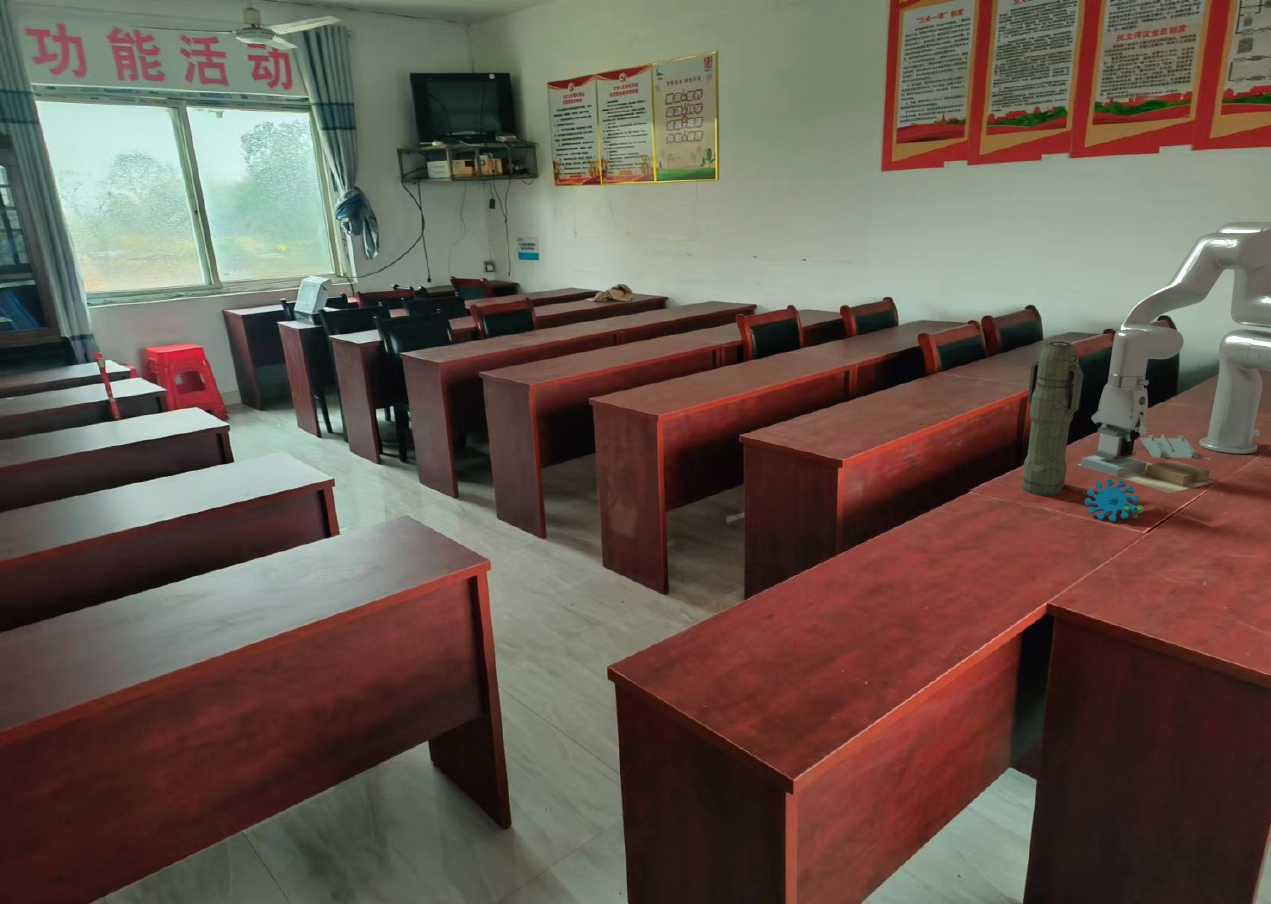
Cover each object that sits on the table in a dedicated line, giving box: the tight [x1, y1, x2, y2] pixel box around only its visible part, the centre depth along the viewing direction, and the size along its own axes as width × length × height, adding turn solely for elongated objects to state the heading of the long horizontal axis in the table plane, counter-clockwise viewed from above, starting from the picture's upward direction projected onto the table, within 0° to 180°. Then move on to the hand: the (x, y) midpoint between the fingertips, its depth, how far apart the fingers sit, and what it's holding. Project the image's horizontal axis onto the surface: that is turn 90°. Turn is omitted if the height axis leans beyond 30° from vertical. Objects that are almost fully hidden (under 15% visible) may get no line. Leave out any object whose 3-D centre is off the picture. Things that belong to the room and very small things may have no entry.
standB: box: [1080, 454, 1147, 478], centre depth 198 cm, size 10×10×2 cm
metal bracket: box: [1139, 433, 1212, 461], centre depth 208 cm, size 14×6×15 cm
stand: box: [1145, 459, 1211, 487], centre depth 190 cm, size 9×9×2 cm
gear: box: [1084, 478, 1144, 522], centre depth 172 cm, size 11×6×10 cm
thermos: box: [1021, 341, 1084, 497], centre depth 184 cm, size 9×12×35 cm
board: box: [1077, 457, 1216, 494], centre depth 195 cm, size 16×24×1 cm, turn 23°
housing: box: [1094, 426, 1140, 461], centre depth 197 cm, size 8×5×7 cm, turn 113°
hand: (1115, 451), depth 198 cm, fingers closed on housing, 5 cm apart
